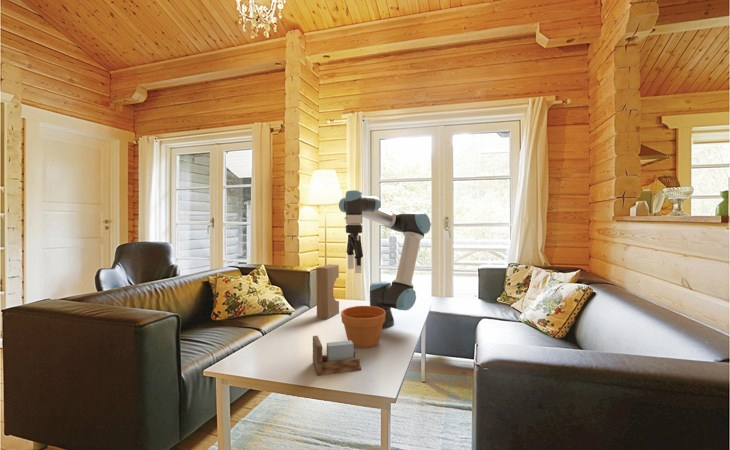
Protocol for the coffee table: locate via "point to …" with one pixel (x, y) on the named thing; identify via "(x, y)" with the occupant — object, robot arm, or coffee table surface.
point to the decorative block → (326, 291)
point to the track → (331, 366)
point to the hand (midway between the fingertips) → (354, 270)
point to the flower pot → (363, 325)
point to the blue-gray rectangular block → (339, 350)
